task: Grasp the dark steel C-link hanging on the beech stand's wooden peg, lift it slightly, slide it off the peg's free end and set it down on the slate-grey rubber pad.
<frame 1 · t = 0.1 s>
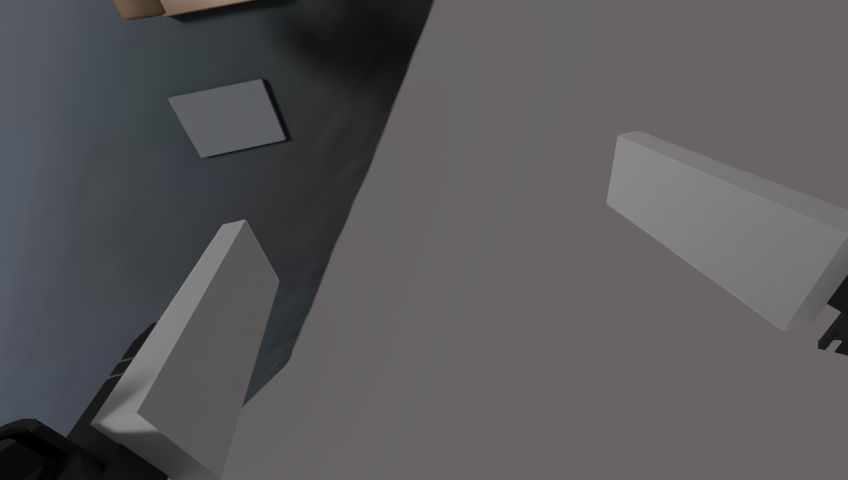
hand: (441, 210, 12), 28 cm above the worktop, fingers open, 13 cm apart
pad: (231, 118, 34), on the worktop
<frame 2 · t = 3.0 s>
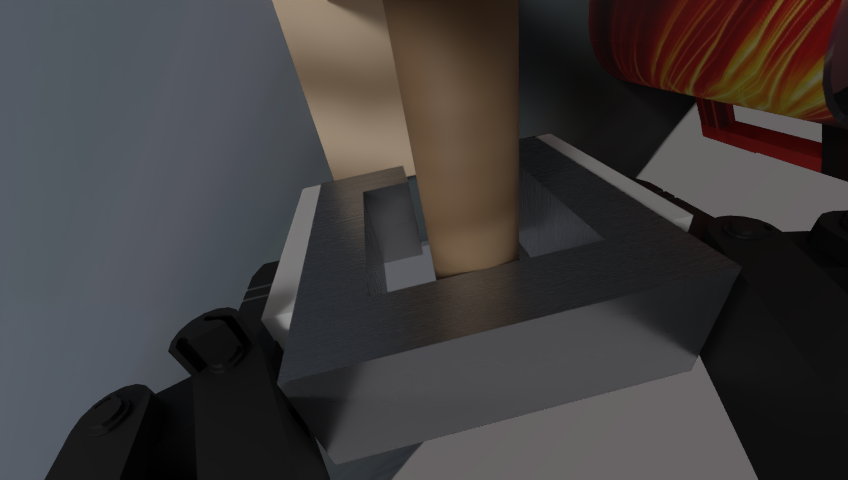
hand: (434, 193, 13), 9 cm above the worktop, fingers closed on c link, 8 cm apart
mug: (686, 11, 20), on the worktop
pad: (385, 281, 27), on the worktop
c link: (435, 195, 13), point 9 cm above the worktop, touching gripper, stand
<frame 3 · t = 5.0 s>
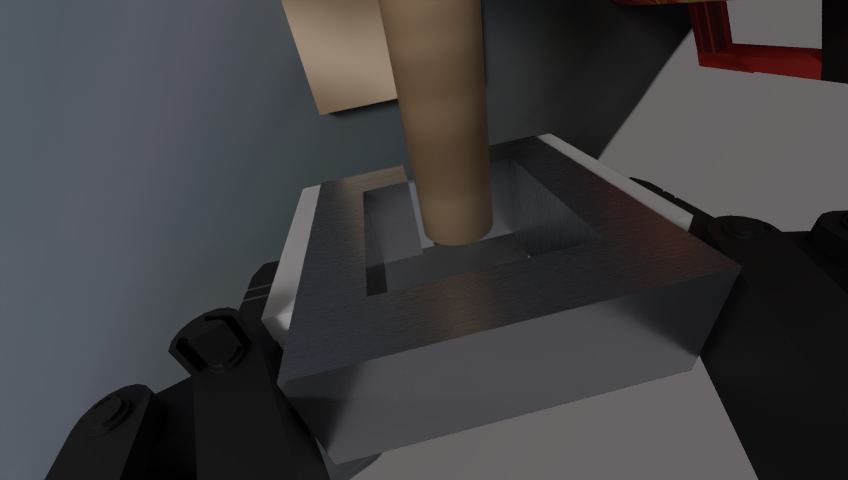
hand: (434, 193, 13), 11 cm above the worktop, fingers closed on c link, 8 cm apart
pad: (372, 224, 26), on the worktop
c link: (435, 195, 13), point 12 cm above the worktop, touching gripper
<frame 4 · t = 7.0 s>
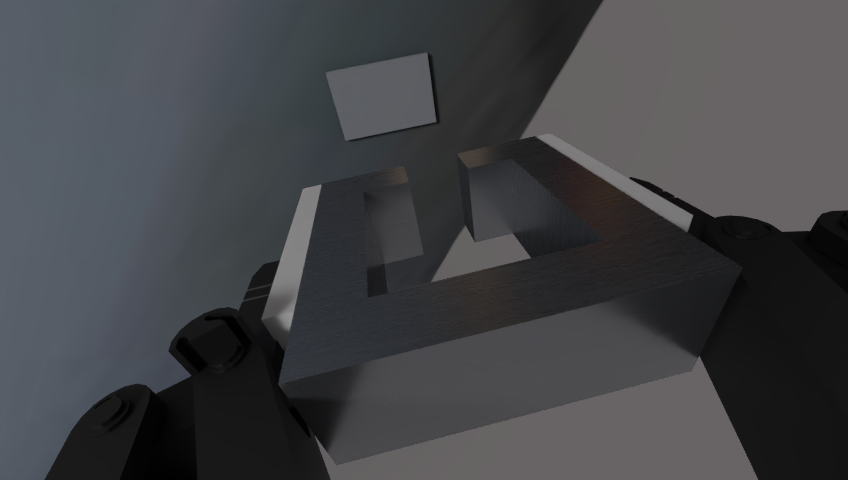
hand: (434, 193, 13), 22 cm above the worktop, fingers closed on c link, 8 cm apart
pad: (384, 97, 31), on the worktop
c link: (435, 196, 13), point 22 cm above the worktop, touching gripper
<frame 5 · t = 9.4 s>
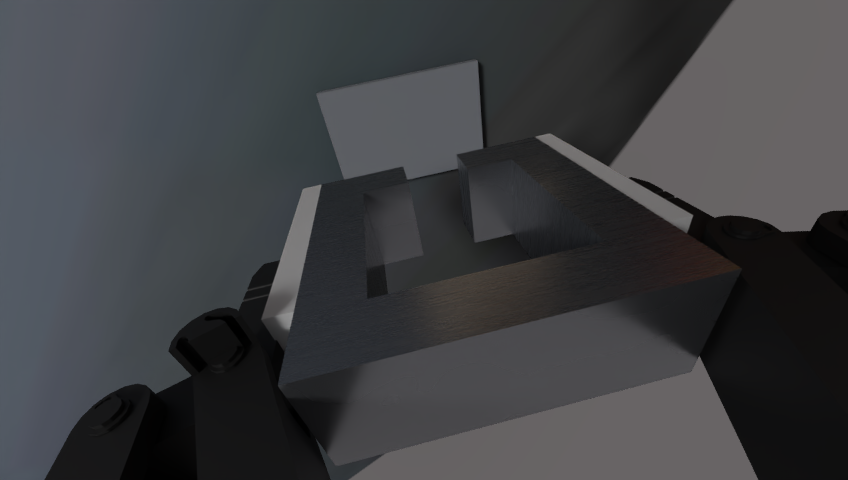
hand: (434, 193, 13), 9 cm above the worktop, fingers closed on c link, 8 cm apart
pad: (407, 129, 20), on the worktop
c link: (435, 196, 13), point 9 cm above the worktop, touching gripper
when the fingers open (1 cm above the worktop, at t = 11.3 s): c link stays where it is, resting on pad.
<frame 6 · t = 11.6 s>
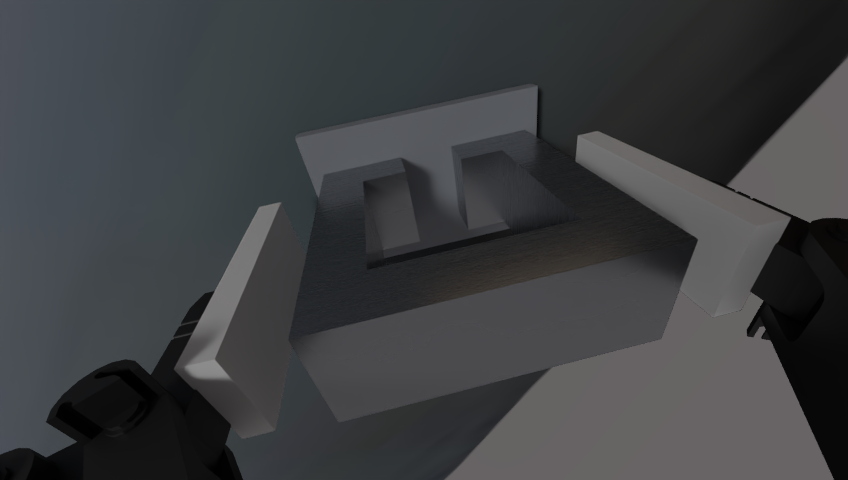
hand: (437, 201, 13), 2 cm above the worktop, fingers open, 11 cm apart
pad: (428, 180, 14), on the worktop
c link: (431, 186, 14), point 1 cm above the worktop, touching pad
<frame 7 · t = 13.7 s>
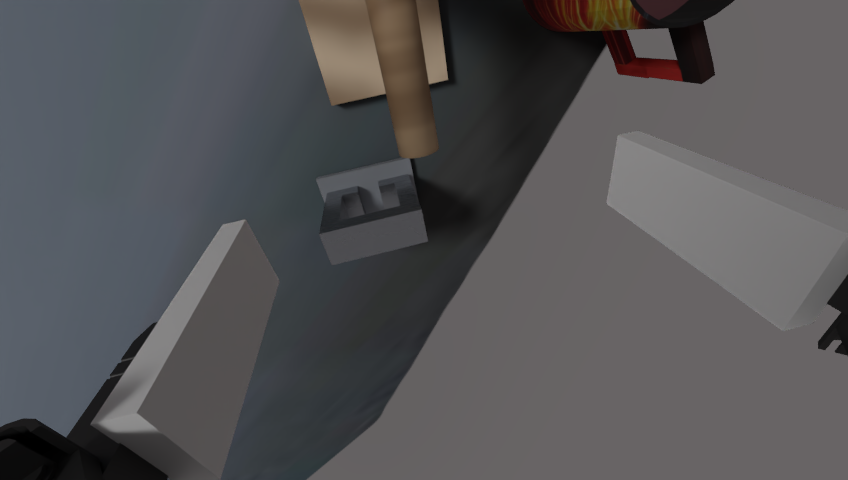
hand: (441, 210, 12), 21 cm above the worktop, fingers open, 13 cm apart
pad: (371, 194, 33), on the worktop
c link: (371, 197, 33), point 1 cm above the worktop, touching pad
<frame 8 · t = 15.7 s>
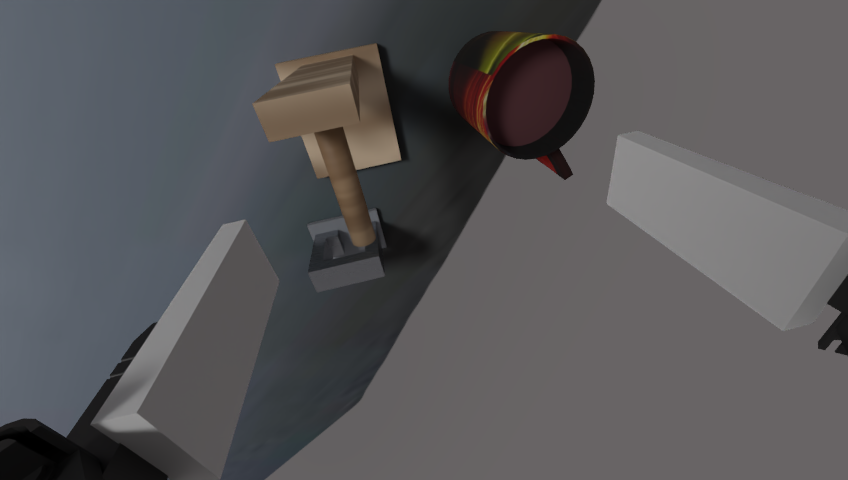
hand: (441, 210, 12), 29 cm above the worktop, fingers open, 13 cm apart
mug: (504, 90, 38), on the worktop
pad: (348, 234, 45), on the worktop
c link: (348, 237, 44), point 1 cm above the worktop, touching pad
stand: (331, 69, 34), on the worktop
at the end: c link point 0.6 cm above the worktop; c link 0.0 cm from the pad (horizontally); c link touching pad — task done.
